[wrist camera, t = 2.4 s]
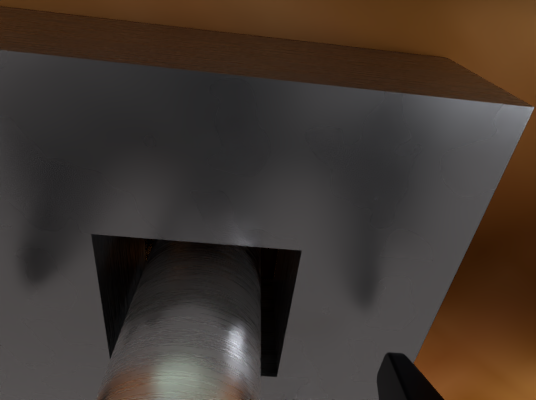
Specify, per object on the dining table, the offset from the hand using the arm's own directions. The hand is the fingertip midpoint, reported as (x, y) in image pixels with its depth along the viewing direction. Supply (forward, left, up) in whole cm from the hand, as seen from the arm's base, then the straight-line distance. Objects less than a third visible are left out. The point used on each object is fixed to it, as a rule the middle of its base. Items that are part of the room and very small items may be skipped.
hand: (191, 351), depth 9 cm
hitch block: (0, 0, -5) cm, 5 cm away
